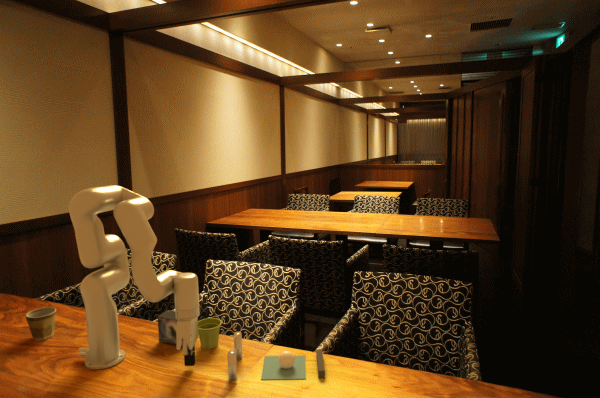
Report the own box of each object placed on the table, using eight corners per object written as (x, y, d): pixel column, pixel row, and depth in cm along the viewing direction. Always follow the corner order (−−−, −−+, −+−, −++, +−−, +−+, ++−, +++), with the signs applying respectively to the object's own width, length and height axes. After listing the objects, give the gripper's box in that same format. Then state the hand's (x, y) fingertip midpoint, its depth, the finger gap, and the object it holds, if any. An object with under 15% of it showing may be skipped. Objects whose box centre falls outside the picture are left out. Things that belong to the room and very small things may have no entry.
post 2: (234, 360, 136) (233, 335, 135) (235, 356, 139) (234, 331, 138) (241, 359, 136) (240, 335, 135) (242, 356, 139) (242, 331, 138)
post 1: (227, 381, 124) (226, 354, 123) (229, 376, 126) (228, 350, 125) (236, 381, 124) (235, 354, 123) (237, 376, 126) (236, 350, 125)
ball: (281, 374, 129) (275, 359, 128) (281, 365, 134) (276, 350, 133) (297, 369, 128) (291, 353, 128) (297, 359, 134) (291, 345, 133)
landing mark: (261, 379, 124) (261, 379, 124) (264, 356, 138) (264, 356, 138) (305, 379, 124) (305, 378, 124) (304, 356, 138) (304, 355, 138)
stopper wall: (318, 378, 125) (318, 370, 125) (316, 356, 138) (316, 349, 138) (324, 378, 125) (324, 370, 125) (322, 356, 138) (322, 349, 138)
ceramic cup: (63, 334, 157) (61, 310, 155) (35, 345, 148) (33, 319, 147) (47, 327, 164) (44, 303, 162) (19, 336, 155) (17, 312, 154)
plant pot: (216, 353, 141) (215, 330, 140) (191, 350, 143) (190, 327, 142) (226, 340, 150) (225, 318, 149) (203, 338, 152) (202, 317, 151)
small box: (157, 342, 149) (156, 316, 148) (169, 335, 155) (168, 309, 154) (180, 347, 145) (179, 320, 144) (191, 339, 151) (190, 313, 150)
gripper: (182, 302, 136) (185, 353, 138) (168, 321, 121) (171, 377, 124) (204, 302, 136) (206, 352, 138) (193, 321, 121) (195, 377, 124)
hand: (190, 364), depth 131 cm, fingers closed
